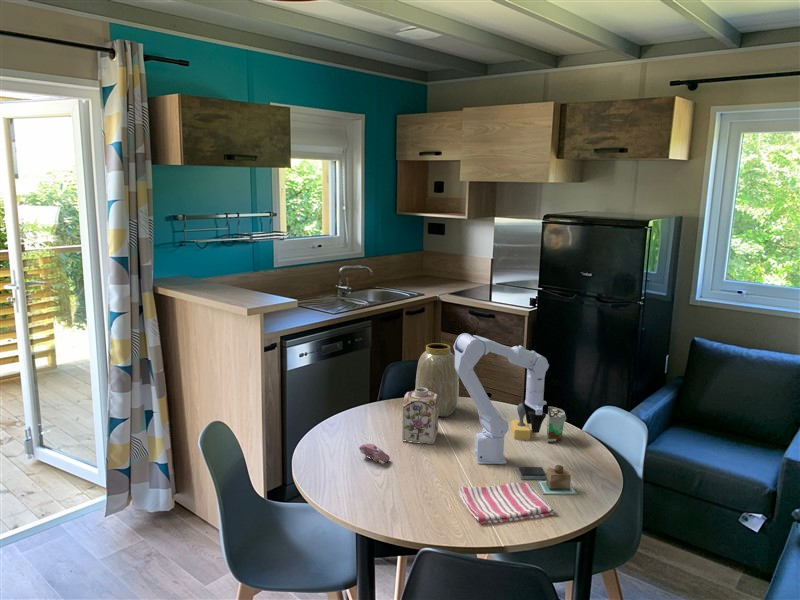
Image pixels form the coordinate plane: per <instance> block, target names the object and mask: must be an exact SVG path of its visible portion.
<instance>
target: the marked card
mask: <svg viewBox="0 0 800 600" xmlns="http://www.w3.org/2000/svg"><path fill="white" fill-rule="evenodd" d="M536 483H537V485H538V487H539V489H540V491H541V493H542V494H543V496H548V495H549V496H555V495H556V496H562V495H563V496H564V495H565V496H566V495H567V496H572V495H573V496H576V495H578V493H577V491H576V490H575V488H574V486H573V485H572V483H571V482H570V491H558V490H549V488H548V486H547V484H546V483H547V480H536Z"/></svg>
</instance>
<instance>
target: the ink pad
mask: <svg viewBox="0 0 800 600" xmlns="http://www.w3.org/2000/svg"><path fill="white" fill-rule="evenodd" d="M516 469H517V470H516V471H517V474H518V476H519V478H520V480H522V481H523V480H527V481H528V480H530V481H531V480H536V481H547V472H545V470H544V468H543V467H542V466H517V467H516Z"/></svg>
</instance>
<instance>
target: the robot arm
mask: <svg viewBox="0 0 800 600" xmlns="http://www.w3.org/2000/svg"><path fill="white" fill-rule="evenodd" d="M453 350H454V356H455V370H456V371H457V373H458V376H459V380H460V381H461V382H462V384H463V385H464V388H465V389H466V391H467V393H468V395H469V397H470V399H471V400H472V402H473V404H474V406H475V407H476V409H477V411H478V412H477V414H478V418H479V423H480V425H481V426H482V431H481V432H476V433H475V435H474V439H475V440H474V452H473V453H474V454H473V455H474V457H475V461H476V463H477V464H480V465H481V464H482V465H487V464H489V465H496V464H499V465H506V464H507V460H506V458H505V456H504V455H505V453H504V451H505V436H506V435H507V433H508V431H509V428H510V427H509V422H508V421H507V420H505V419H504V418H503V417H502V416H501V414H500V413H499V412H498V411H497V409H496V408H495V407H494V405H493V403H492V401H491V399H490V397H489V396H488V394H487V392H486V390H485V389H484V387H483V385H482V383H481V382H480V380H479V377H478V376H477V374H476V372H475V371H474V367H475V366H476V365H477V363H478V362H479V361H480V359H481V358H482V356H483V355H484V356H486V355H488V354H489V353H492V354H495V355H499V356H502V357H505V358H507V360H508V362H509V363H510V364H513V365H516V366H518V367H522V368H525V369H527V370H526V385H525V386H526V387H525V389H526V390H525V391H526V392H525V400H524V401H523V402H521V403H522V404H523V406H524V409H525V419H526V421H527V424H528V425H530V426H531V427H530V428H531V433H534V434H539V433H540V430H541V427H542V424H543V422H544V420H545V419H546V417H547V413H546V412H544V411H543V407H544V406H546V405H547V401H546V400H544V394H545V393H544V392H545V377H546V372H547V371H548V369H549V367H550V364H549V363H548V359H547V357H545V356H543V355H541V354H539V353H537V352H536V351H535V350H528V349H526V348H525V347H524V346H522V345H520V344H519V345H518V346H517V345H515V346H512V347H509V346H506V345H504V344H501V343H498V342H497V341H494V340H491V339H489V338H486V337H483V336H480V335H476V334H475V335H474V334H473V335H472V334H470V333H468V332H467V333H466V332H464V333H461V334H459V335H458V336H457V338H456V339H455V342H454V344H453Z"/></svg>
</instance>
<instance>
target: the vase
mask: <svg viewBox="0 0 800 600" xmlns="http://www.w3.org/2000/svg"><path fill="white" fill-rule="evenodd" d="M415 377H416V378H415V389H416V388H426V389H428V391H430V392H433V393H435V394H437V395H438V398H439V401H438V416H444V417H447V415H448V416H450V414H451V415H452V414H453V413H454V412H455V410H456V409H457V406H458V403H459V391H460V390H459V389H460V384H459V380H460V377H459V375H458V373H457V371H456V370H455V354H454V353H452V352H451V346H450V345H449V344H446V343H440V342H437V343H436V342H435V343H434V342H433V343H429V344H426V345H425V351H423V353H421V355H420V357H419V359H418V362H417V368H416V376H415Z"/></svg>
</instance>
